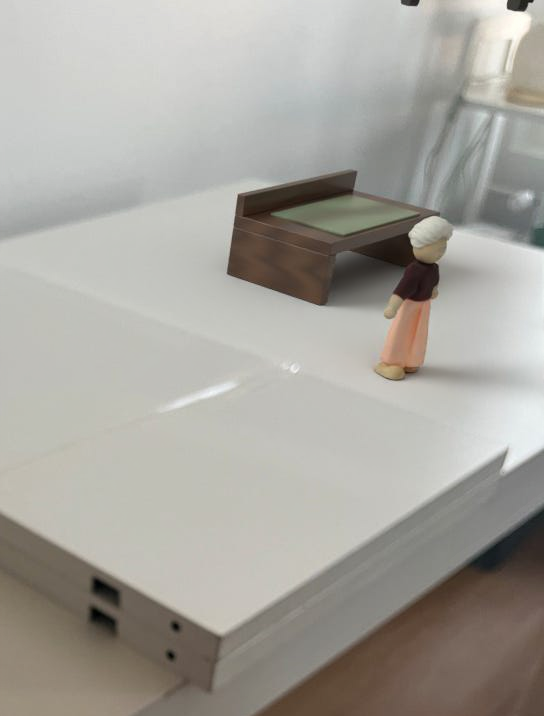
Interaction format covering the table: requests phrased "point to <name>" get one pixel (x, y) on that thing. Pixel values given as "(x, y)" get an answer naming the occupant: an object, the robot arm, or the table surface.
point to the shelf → (316, 233)
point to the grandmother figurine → (414, 300)
